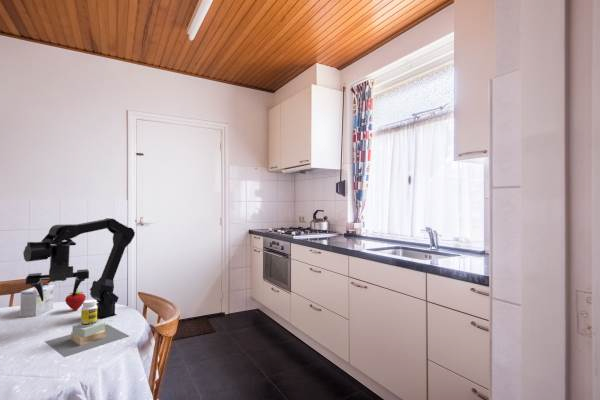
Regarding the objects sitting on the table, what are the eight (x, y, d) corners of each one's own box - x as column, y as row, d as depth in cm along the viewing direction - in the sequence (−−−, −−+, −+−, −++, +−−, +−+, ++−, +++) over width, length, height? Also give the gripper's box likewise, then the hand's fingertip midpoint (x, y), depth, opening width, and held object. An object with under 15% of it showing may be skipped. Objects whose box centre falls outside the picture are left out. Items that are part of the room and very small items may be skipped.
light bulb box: (38, 308, 142) (39, 284, 142) (53, 308, 143) (54, 284, 143) (18, 316, 131) (20, 291, 132) (35, 316, 132) (36, 291, 132)
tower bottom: (95, 332, 117) (96, 325, 117) (105, 337, 112) (105, 330, 112) (70, 339, 110) (71, 332, 110) (80, 345, 105) (80, 338, 105)
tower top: (92, 326, 116) (92, 319, 116) (104, 330, 113) (104, 323, 113) (72, 333, 109) (72, 326, 109) (84, 337, 106) (84, 329, 106)
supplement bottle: (88, 327, 108) (89, 303, 108) (77, 326, 109) (78, 302, 109) (100, 322, 113) (101, 299, 113) (89, 321, 114) (90, 298, 114)
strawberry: (64, 310, 140) (65, 288, 140) (84, 307, 145) (85, 285, 145) (65, 314, 136) (66, 291, 136) (86, 310, 140) (87, 288, 141)
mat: (107, 325, 124) (107, 324, 124) (129, 337, 114) (129, 336, 114) (44, 342, 108) (44, 341, 108) (64, 358, 98) (64, 357, 98)
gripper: (24, 263, 107) (22, 309, 106) (90, 259, 117) (88, 300, 117) (28, 258, 116) (26, 300, 115) (89, 255, 126) (87, 293, 126)
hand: (58, 299), depth 118 cm, fingers open, 9 cm apart
